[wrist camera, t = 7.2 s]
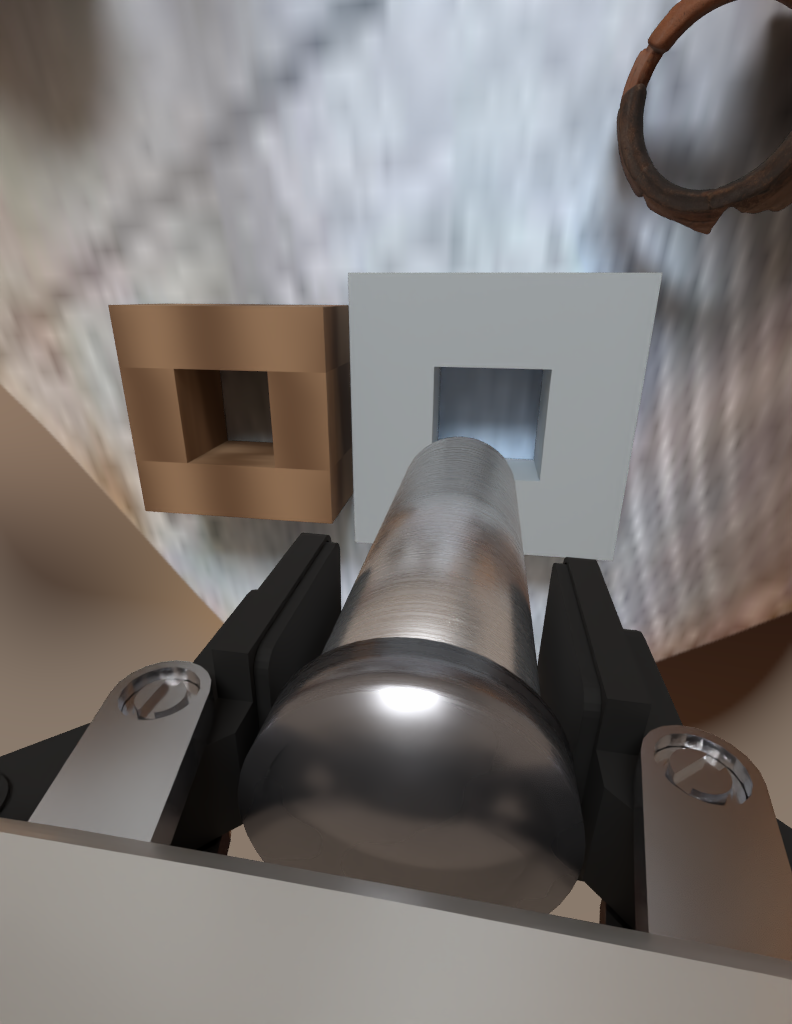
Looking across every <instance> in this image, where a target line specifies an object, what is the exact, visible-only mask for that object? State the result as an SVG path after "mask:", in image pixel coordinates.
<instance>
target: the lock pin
mask: <svg viewBox="0 0 792 1024" xmlns="http://www.w3.org/2000/svg"><path fill="white" fill-rule="evenodd" d="M238 803H239V809H240V814H241V818H242V822H243V824H244V827H245V830H246V832H247V835H248V837H249V839H250V841H251V843H252V844H253V846H254V848H255V850H256V851H257V853H258V854H259V856H260V857H261V858H262V860H263V861H264V862H266V863H271V864H277V865H282V866H288V867H293V868H299V869H305V870H310V871H316V872H321V873H327V874H332V875H338V876H343V877H349V878H354V879H360V880H366V881H371V882H377V883H382V884H387V885H393V886H398V887H404V888H409V889H415V890H420V891H426V892H431V893H437V894H442V895H448V896H453V897H459V898H464V899H470V900H475V901H481V902H486V903H492V904H497V905H502V906H508V907H513V908H518V909H524V910H529V911H534V912H540V913H545V914H549V913H550V912H551V911H553V910H554V909H555V908H556V907H557V906H558V905H560V903H561V902H562V901H563V900H564V899H565V897H566V896H567V895H568V894H569V893H570V891H571V890H572V888H573V886H574V884H575V883H576V881H577V879H578V877H579V874H580V871H581V868H582V865H583V862H584V854H585V847H586V844H585V829H584V823H583V817H582V811H581V806H580V800H579V794H578V788H577V782H576V776H575V771H574V765H573V759H572V754H571V751H570V747H569V743H568V740H567V737H566V735H565V733H564V731H563V728H562V726H561V724H560V723H559V721H558V719H557V718H556V716H555V715H554V713H553V711H552V710H551V708H550V707H549V706H548V705H547V704H546V703H545V701H544V700H543V699H542V698H541V694H540V685H539V677H538V669H537V660H536V652H535V644H534V635H533V627H532V619H531V610H530V602H529V594H528V585H527V577H526V569H525V560H524V552H523V544H522V535H521V527H520V519H519V510H518V502H517V494H516V485H515V479H514V475H513V473H512V470H511V468H510V466H509V464H508V463H507V461H506V460H505V459H504V457H503V456H502V455H501V454H500V453H499V452H498V451H497V450H495V449H494V448H493V447H491V446H490V445H488V444H486V443H484V442H482V441H479V440H476V439H473V438H467V437H450V438H445V439H441V440H438V441H436V442H434V443H432V444H430V445H428V446H427V447H425V448H424V449H423V450H421V451H420V452H419V453H418V454H417V455H416V456H415V458H414V459H413V460H412V462H411V464H410V465H409V467H408V469H407V471H406V474H405V476H404V478H403V480H402V482H401V484H400V487H399V489H398V491H397V493H396V495H395V497H394V499H393V502H392V504H391V506H390V508H389V510H388V512H387V514H386V517H385V519H384V521H383V523H382V525H381V527H380V529H379V532H378V534H377V536H376V538H375V540H374V542H373V544H372V547H371V549H370V551H369V553H368V555H367V557H366V560H365V562H364V564H363V566H362V568H361V570H360V572H359V575H358V577H357V579H356V581H355V583H354V585H353V587H352V590H351V592H350V594H349V596H348V598H347V600H346V602H345V605H344V607H343V609H342V611H341V613H340V615H339V618H338V620H337V622H336V624H335V626H334V628H333V630H332V633H331V635H330V637H329V639H328V641H327V643H326V645H325V648H324V650H323V652H322V654H321V655H319V656H318V657H316V658H315V659H313V660H311V661H310V662H308V663H307V664H305V665H304V666H303V667H302V668H301V669H300V670H298V671H297V672H296V673H295V674H294V675H293V676H292V677H291V678H290V680H289V681H288V682H287V683H286V684H285V686H284V687H283V688H282V690H281V692H280V694H279V696H278V697H277V699H276V701H275V703H274V705H273V707H272V708H271V710H270V712H269V714H268V716H267V718H266V720H265V722H264V724H263V726H262V728H261V729H260V731H259V733H258V735H257V737H256V739H255V741H254V743H253V745H252V747H251V749H250V750H249V752H248V754H247V756H246V758H245V761H244V764H243V767H242V770H241V772H240V778H239V785H238Z"/></svg>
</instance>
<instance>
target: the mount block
mask: <svg viewBox="0 0 792 1024" xmlns="http://www.w3.org/2000/svg"><path fill="white" fill-rule="evenodd" d="M108 306H109V311H110V317H111V322H112V328H113V334H114V339H115V345H116V350H117V356H118V361H119V367H120V372H121V378H122V383H123V389H124V394H125V400H126V405H127V411H128V416H129V422H130V428H131V433H132V439H133V444H134V450H135V455H136V461H137V466H138V472H139V477H140V483H141V488H142V494H143V499H144V505H145V510H146V511H153V512H168V513H183V514H198V515H212V516H227V517H242V518H257V519H271V520H286V521H301V522H315V523H330V524H332V523H333V522H334V520H335V519H336V517H337V516H338V514H339V513H340V511H341V510H342V509H343V507H344V506H345V504H346V503H347V501H348V500H349V498H350V497H351V495H352V494H353V464H352V426H351V387H350V349H349V311H348V305H260V304H134V305H108ZM220 370H238V371H267V375H268V388H269V400H270V412H271V424H272V436H273V443H271V442H250V441H228V438H227V429H226V421H225V412H224V403H223V394H222V385H221V377H220Z"/></svg>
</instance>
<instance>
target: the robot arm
mask: <svg viewBox="0 0 792 1024" xmlns="http://www.w3.org/2000/svg"><path fill="white" fill-rule="evenodd" d="M340 613H341V576H340V547H339V544H338V543H332V542H331V538H330V536H329V535H321V534H310V533H302V534H300V536H299V537H298V538H297V540H296V541H295V542H294V543H293V545H292V546H291V547H290V549H289V550H288V551H287V552H286V554H285V555H284V556H283V558H282V559H281V560H280V561H279V563H278V564H277V565H276V567H275V568H274V569H273V570H272V572H271V573H270V574H269V576H268V577H267V578H266V579H265V581H264V582H263V583H262V585H261V586H260V587H259V589H258V590H251V591H250V592H249V593H248V594H247V595H246V597H245V598H244V599H243V600H242V602H241V603H240V604H239V605H238V607H237V608H236V609H235V610H234V612H233V613H232V614H231V615H230V617H229V618H228V619H227V620H226V622H225V623H224V624H223V626H222V627H221V628H220V629H219V630H218V632H217V633H216V634H215V636H214V637H213V638H212V640H210V642H209V643H208V644H207V646H206V647H205V648H204V649H203V651H202V652H201V653H200V654H199V655H198V657H197V658H196V659H195V660H194V662H193V663H192V662H186V661H168V662H160V663H157V664H153V665H149V666H146V667H144V668H142V669H139V670H138V671H135V672H133V673H131V674H130V675H128V676H127V677H126V678H124V679H123V680H122V681H120V682H119V683H118V684H117V685H116V686H115V687H114V689H113V690H112V691H111V692H110V694H109V695H108V697H107V698H106V700H105V701H104V703H103V705H102V706H101V708H100V709H99V711H98V712H97V714H96V715H95V717H94V719H93V720H92V722H91V723H89V724H86V725H83V726H81V727H78V728H75V729H73V730H70V731H67V732H65V733H62V734H59V735H57V736H54V737H51V738H49V739H46V740H43V741H41V742H38V743H35V744H33V745H30V746H27V747H25V748H22V749H19V750H17V751H14V752H12V753H9V754H6V755H3V756H1V757H0V1024H792V829H791V828H790V827H788V826H787V825H785V824H784V823H783V822H781V821H779V820H778V819H777V818H776V816H775V813H774V810H773V806H772V803H771V799H770V796H769V793H768V790H767V786H766V783H765V781H764V779H763V777H762V775H761V773H760V772H759V770H758V769H757V767H756V766H755V765H754V764H753V763H752V762H751V761H750V759H748V757H747V756H746V755H744V754H743V753H742V752H741V751H739V750H738V749H737V748H735V747H734V746H733V745H732V744H730V743H728V742H726V741H725V740H723V739H721V738H719V737H717V736H715V735H714V734H711V733H708V732H705V731H702V730H700V729H697V728H693V727H686V726H683V725H682V723H681V720H680V718H679V716H678V713H677V711H676V709H675V707H674V704H673V702H672V700H671V697H670V695H669V693H668V691H667V688H666V686H665V684H664V681H663V679H662V677H661V674H660V672H659V670H658V668H657V665H656V663H655V661H654V658H653V656H652V654H651V652H650V649H649V647H648V645H647V642H646V640H645V638H644V636H643V634H642V633H641V632H640V631H637V630H628V629H623V628H622V625H621V623H620V620H619V617H618V615H617V612H616V610H615V607H614V604H613V602H612V599H611V597H610V594H609V591H608V589H607V586H606V584H605V581H604V578H603V576H602V573H601V571H600V568H599V565H598V563H597V561H596V559H585V558H574V557H565V559H564V562H563V564H559V563H554V564H553V567H552V573H551V579H550V586H549V593H548V599H547V606H546V613H545V619H544V626H543V632H542V639H541V646H540V652H539V659H538V666H537V669H538V677H539V685H540V694H541V698H542V699H543V700H544V701H545V703H546V704H547V705H548V706H549V707H550V708H551V710H552V711H553V713H554V715H555V716H556V718H557V719H558V721H559V723H560V724H561V726H562V728H563V731H564V733H565V735H566V737H567V740H568V743H569V747H570V751H571V754H572V759H573V765H574V771H575V776H576V782H577V788H578V794H579V800H580V806H581V811H582V817H583V823H584V829H585V844H586V847H585V854H584V862H583V865H582V868H581V871H580V874H579V877H578V879H577V880H579V881H584V882H585V883H586V884H587V885H588V886H589V887H590V888H591V889H592V890H593V891H594V892H596V894H598V895H599V896H600V897H601V898H602V900H601V904H600V921H599V924H598V923H593V922H587V921H582V920H577V919H572V918H566V917H561V916H555V915H550V914H545V913H540V912H534V911H529V910H524V909H518V908H513V907H508V906H502V905H497V904H492V903H486V902H481V901H475V900H470V899H464V898H459V897H453V896H448V895H442V894H437V893H431V892H426V891H420V890H415V889H409V888H404V887H398V886H393V885H387V884H382V883H377V882H371V881H366V880H360V879H354V878H349V877H343V876H338V875H332V874H327V873H321V872H316V871H310V870H305V869H299V868H293V867H288V866H282V865H277V864H271V863H266V862H260V861H254V860H249V859H243V858H237V857H231V856H227V854H228V849H229V845H230V842H231V830H233V829H234V828H236V827H238V826H240V825H242V824H243V822H242V818H241V814H240V809H239V803H238V785H239V778H240V772H241V770H242V767H243V764H244V761H245V758H246V756H247V754H248V752H249V750H250V749H251V747H252V745H253V743H254V741H255V739H256V737H257V735H258V733H259V731H260V729H261V728H262V726H263V724H264V722H265V720H266V718H267V716H268V714H269V712H270V710H271V708H272V707H273V705H274V703H275V701H276V699H277V697H278V696H279V694H280V692H281V690H282V688H283V687H284V686H285V684H286V683H287V682H288V681H289V680H290V678H291V677H292V676H293V675H294V674H295V673H296V672H297V671H298V670H300V669H301V668H302V667H303V666H304V665H305V664H307V663H308V662H310V661H311V660H313V659H315V658H316V657H318V656H319V655H321V654H322V652H323V650H324V648H325V645H326V643H327V641H328V639H329V637H330V635H331V633H332V630H333V628H334V626H335V624H336V622H337V620H338V618H339V615H340Z"/></svg>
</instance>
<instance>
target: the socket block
mask: <svg viewBox="0 0 792 1024" xmlns="http://www.w3.org/2000/svg"><path fill="white" fill-rule="evenodd" d="M661 278H662V273H348V290H349V329H350V368H351V407H352V446H353V484H354V523H355V542H358V543H372V544H373V542H374V540H375V538H376V536H377V534H378V532H379V529H380V527H381V525H382V523H383V521H384V519H385V517H386V514H387V512H388V510H389V508H390V506H391V504H392V502H393V499H394V497H395V495H396V493H397V491H398V489H399V487H400V484H401V482H402V480H403V478H404V476H405V474H406V471H407V469H408V467H409V465H410V464H411V462H412V460H413V459H414V458H415V456H416V455H417V454H418V453H419V452H420V451H421V450H423V449H424V448H425V447H427V446H428V445H430V444H432V443H434V442H436V441H438V423H439V395H440V367H469V368H510V369H543V375H542V385H541V394H540V404H539V414H538V423H537V433H536V442H535V452H534V460H528V459H508V458H504V459H505V460H506V461H507V463H508V464H509V466H510V468H511V470H512V473H513V475H514V479H515V485H516V494H517V502H518V510H519V519H520V527H521V535H522V544H523V552H524V555H537V556H551V557H574V558H585V559H596V560H606V561H613V556H614V550H615V544H616V539H617V533H618V527H619V521H620V516H621V510H622V504H623V498H624V492H625V487H626V481H627V475H628V469H629V463H630V458H631V452H632V446H633V440H634V435H635V429H636V423H637V417H638V411H639V406H640V400H641V394H642V388H643V383H644V377H645V371H646V365H647V359H648V354H649V348H650V342H651V336H652V330H653V325H654V319H655V313H656V307H657V302H658V296H659V290H660V284H661Z"/></svg>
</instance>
